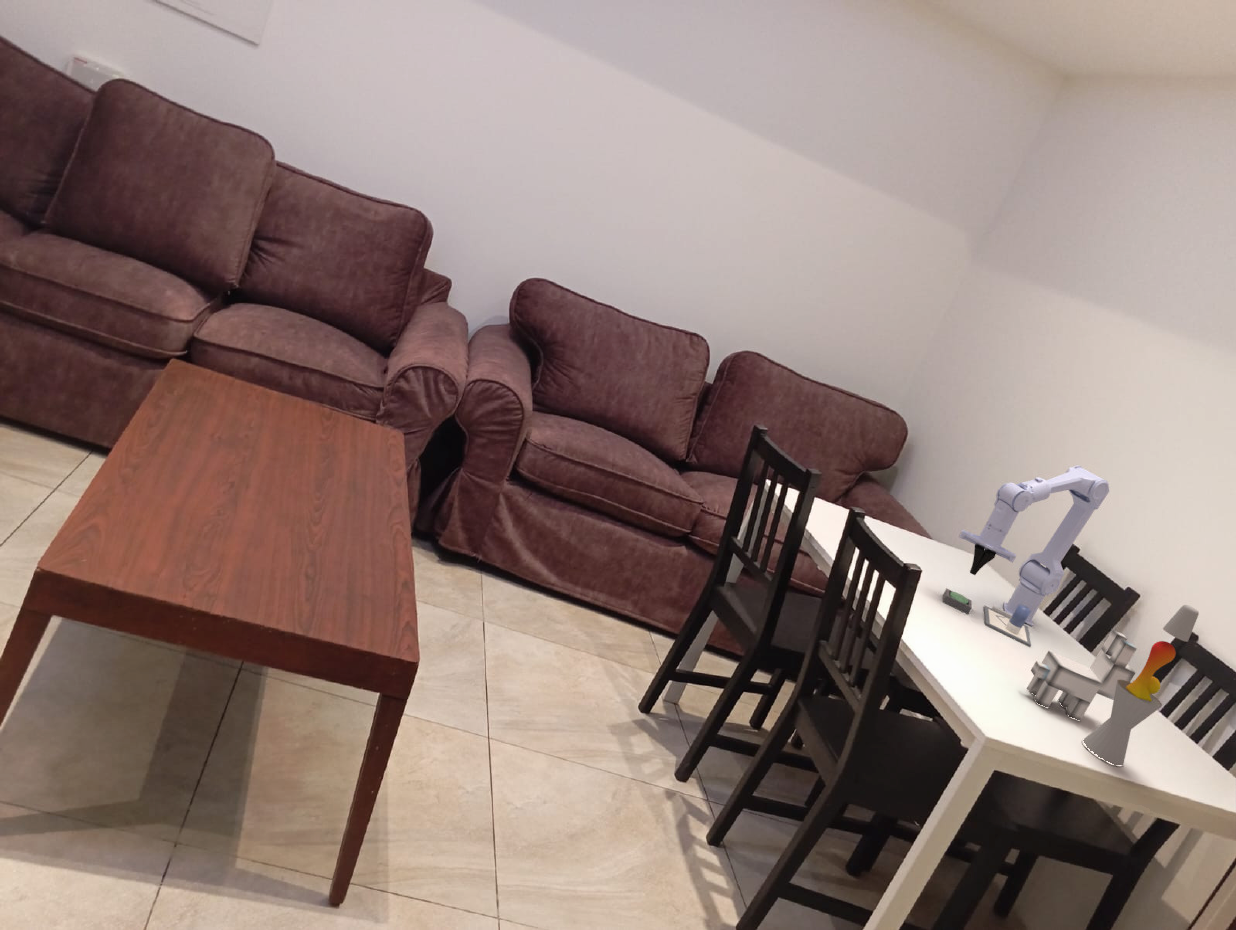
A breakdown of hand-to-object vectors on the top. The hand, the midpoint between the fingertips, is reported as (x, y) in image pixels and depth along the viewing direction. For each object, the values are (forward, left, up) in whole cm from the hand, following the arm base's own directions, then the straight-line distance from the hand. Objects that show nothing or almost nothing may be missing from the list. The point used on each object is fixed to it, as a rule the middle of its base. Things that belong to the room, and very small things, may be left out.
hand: (972, 573), depth 267 cm
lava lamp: (+56, +32, -10) cm, 65 cm away
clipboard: (-2, +14, -10) cm, 17 cm away
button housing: (0, 0, -10) cm, 10 cm away
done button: (0, 0, -9) cm, 9 cm away
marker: (+2, +15, -9) cm, 17 cm away
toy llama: (+41, +24, -10) cm, 48 cm away
